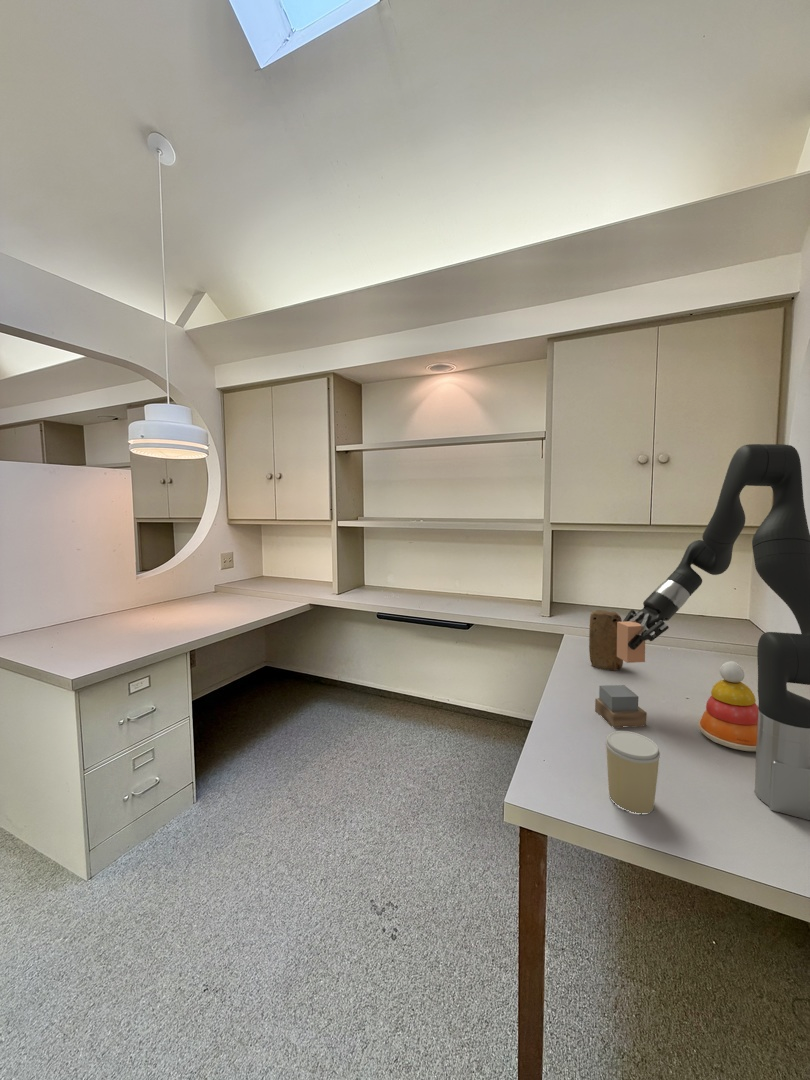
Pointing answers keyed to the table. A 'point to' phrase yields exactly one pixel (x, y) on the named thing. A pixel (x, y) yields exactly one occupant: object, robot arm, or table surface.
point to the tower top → (618, 698)
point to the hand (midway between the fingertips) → (624, 644)
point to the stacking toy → (731, 711)
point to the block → (604, 640)
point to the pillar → (624, 637)
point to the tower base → (621, 716)
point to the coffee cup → (632, 770)
